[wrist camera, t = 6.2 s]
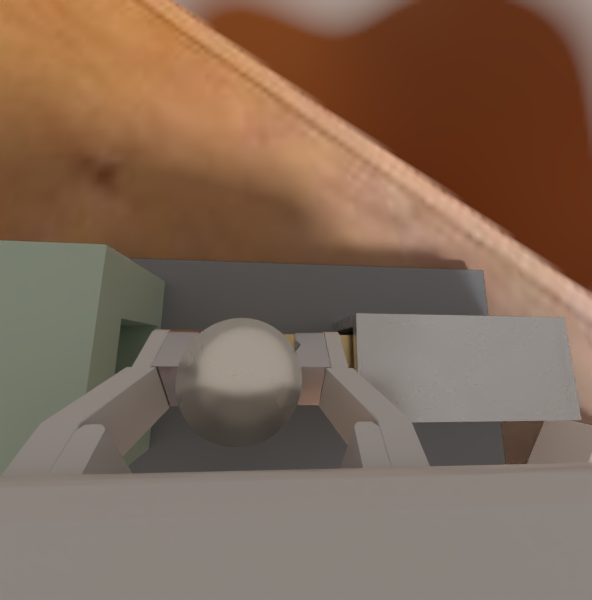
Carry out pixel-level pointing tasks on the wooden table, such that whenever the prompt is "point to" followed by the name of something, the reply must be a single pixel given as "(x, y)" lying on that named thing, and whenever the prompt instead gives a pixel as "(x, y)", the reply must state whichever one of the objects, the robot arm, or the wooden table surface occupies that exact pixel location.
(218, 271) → the charcoal board
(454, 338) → the steel sleeve
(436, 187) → the wooden table surface
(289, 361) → the tan round-topped piece
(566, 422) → the bracket
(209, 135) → the wooden table surface
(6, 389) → the socket block
